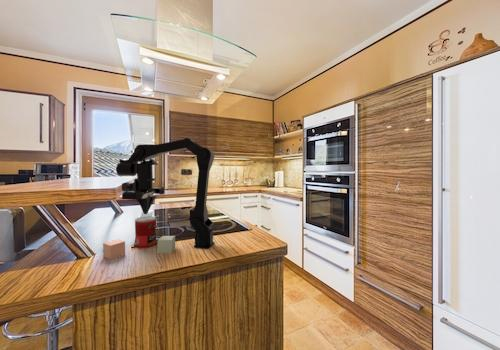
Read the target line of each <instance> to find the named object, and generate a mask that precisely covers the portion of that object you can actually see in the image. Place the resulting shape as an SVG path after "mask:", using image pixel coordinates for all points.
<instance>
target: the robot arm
mask: <svg viewBox="0 0 500 350" xmlns="http://www.w3.org/2000/svg"><path fill="white" fill-rule="evenodd" d="M133 150H134V151H133V152H132V154H131V155H130V157H128V159H119V161H118V163H117V164H116V167H115V171H116V174H117V175H118V176H120V177H135V176H136V178H134V180H133V182H131V183H129V182H123V183H121V191H122V194H121V197H122V198H121V199H122V200H132V201H133V200H136V201H137V202H138V203H139V205H140V208H141V211H142V213H143V215H148V213H149V211H150V210H151V209H150V208H151V207H152V205H153V204H154V201H155V199H157V195H155V194H158V195H164V194H165V191H166V190H165V189H164V187H157V186H156V187H153V186H154V185H153V183H154V182H155V181H156V178H155V177H154V178H153V166H157V165H158V162H157V161H155V158H158V157H159V156H161V155H164V154H168V153H173V152H179V151H184V150H187V151H190V152H191V153H192V154H194V155H195V156H196V163H197V168H198V174H197V175H198V176H197V183H196V185H197V187H196V193H195V196H196V197H195V204H194V207H192V208H191V209H189V218H188V221H189V225H191V227H192V228H193V229H194V232H195V234H194V245H193V248H197V249H199V248H200V249H210V248H211V247H212V246H213V245H214V244H215V243H216V242H215V241H214V230H213V229H212V228H213V226H214V222H213V220H211V218H209V212H208V206H207V199H208V189H209V182H210V181H209V180H210V170H211V168H212V166H213V164H214V159H215V153H214V151H213V150H212V149H210V148H208V147H203V146H202V145H200V144H198V143H197V142H196V141H194V140H193V139H192V138H188V137H185V138H183V139H177V140H174V141H173V140H172V141H168V142H163V143H159V144H137V145H136V146H135V147H134V149H133Z"/></svg>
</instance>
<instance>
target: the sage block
mask: <svg viewBox="0 0 500 350" xmlns="http://www.w3.org/2000/svg"><path fill="white" fill-rule="evenodd" d="M175 249H176V235H162V236H161V237H160V238H159V239H158V238H157V254H172V253H173V252H174V250H175Z"/></svg>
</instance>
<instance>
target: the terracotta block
mask: <svg viewBox="0 0 500 350" xmlns="http://www.w3.org/2000/svg"><path fill="white" fill-rule="evenodd" d="M102 246H103V247H102V249H103V250H102V251H103V252H102V253H103V257H104V258H106V259H108V260H110V261H111V260H114V259H116V258H120V257H123V256H125V255H126V241H124V240H121V239H120V238H119V239H118V238H116V239H114V240H110V241H106V242H103V243H102Z"/></svg>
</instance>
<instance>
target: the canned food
mask: <svg viewBox="0 0 500 350" xmlns="http://www.w3.org/2000/svg"><path fill="white" fill-rule="evenodd" d="M134 223H135V224H134V228H135V229H134V233H135V237H134V238H135V246H136V247H137V248H139V249H145V248H146V247H147V248H151V247H154V246H155V245H156V244H157V217H156V216H152V215H151V216H140V217H136V218H135V220H134Z"/></svg>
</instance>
